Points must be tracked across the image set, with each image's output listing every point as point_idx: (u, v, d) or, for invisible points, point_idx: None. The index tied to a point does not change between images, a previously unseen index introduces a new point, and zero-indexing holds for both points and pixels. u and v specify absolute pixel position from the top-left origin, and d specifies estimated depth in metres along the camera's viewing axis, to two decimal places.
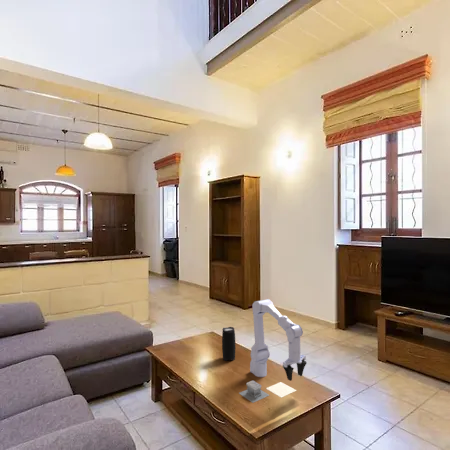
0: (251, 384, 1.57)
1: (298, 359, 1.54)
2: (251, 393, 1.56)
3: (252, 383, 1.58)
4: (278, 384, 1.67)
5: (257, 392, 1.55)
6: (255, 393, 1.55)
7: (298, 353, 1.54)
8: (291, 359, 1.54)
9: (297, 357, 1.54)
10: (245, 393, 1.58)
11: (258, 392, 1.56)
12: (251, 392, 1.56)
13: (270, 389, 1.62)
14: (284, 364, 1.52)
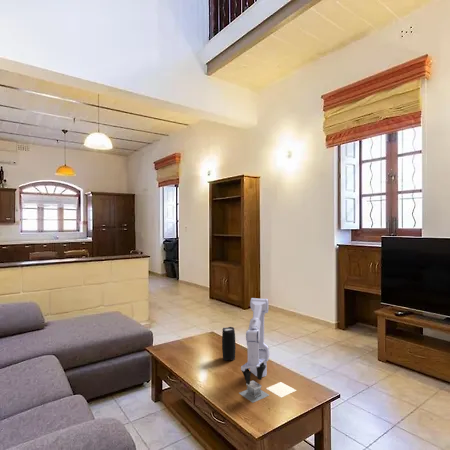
0: (251, 384, 1.57)
1: (256, 363, 1.55)
2: (251, 393, 1.56)
3: (252, 383, 1.58)
4: (278, 384, 1.67)
5: (257, 392, 1.55)
6: (255, 393, 1.55)
7: (256, 357, 1.55)
8: (249, 363, 1.56)
9: (255, 361, 1.55)
10: (245, 393, 1.58)
11: (258, 392, 1.56)
12: (251, 392, 1.56)
13: (270, 389, 1.62)
14: (242, 368, 1.53)
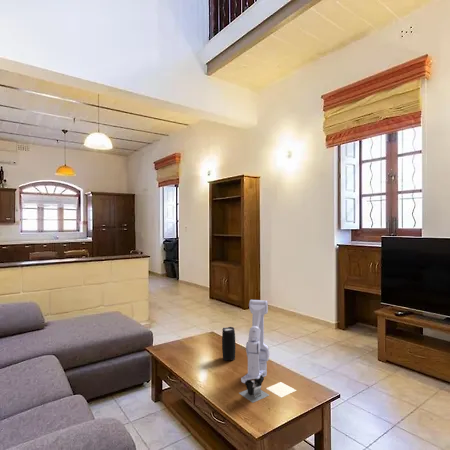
0: None
1: (256, 374, 1.55)
2: None
3: None
4: (278, 384, 1.67)
5: (257, 392, 1.55)
6: (255, 393, 1.55)
7: (256, 368, 1.55)
8: (249, 374, 1.56)
9: (255, 372, 1.55)
10: (245, 393, 1.58)
11: (258, 392, 1.56)
12: None
13: (270, 389, 1.62)
14: (242, 380, 1.53)
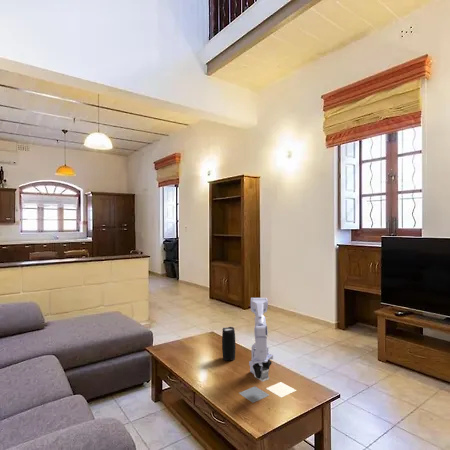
0: None
1: (264, 358, 1.56)
2: None
3: None
4: (278, 384, 1.67)
5: (265, 376, 1.57)
6: (263, 376, 1.56)
7: (264, 352, 1.56)
8: (257, 358, 1.57)
9: (263, 356, 1.56)
10: (245, 393, 1.58)
11: (266, 376, 1.57)
12: None
13: (270, 389, 1.62)
14: (250, 363, 1.55)
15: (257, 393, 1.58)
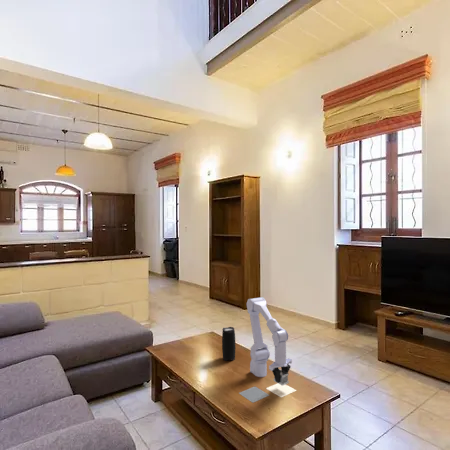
0: None
1: (284, 363, 1.59)
2: None
3: None
4: (278, 384, 1.67)
5: (284, 380, 1.59)
6: (283, 381, 1.59)
7: (284, 357, 1.59)
8: (277, 362, 1.60)
9: (283, 361, 1.59)
10: (245, 393, 1.58)
11: (285, 380, 1.60)
12: None
13: (270, 389, 1.62)
14: (270, 367, 1.57)
15: (257, 393, 1.58)
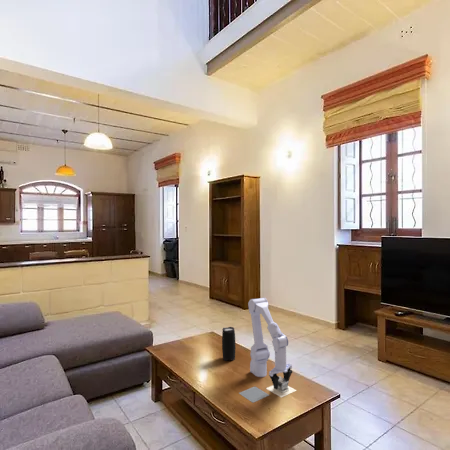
0: (278, 380, 1.61)
1: (284, 368, 1.59)
2: (279, 388, 1.60)
3: (279, 379, 1.62)
4: None
5: (284, 387, 1.59)
6: (283, 388, 1.59)
7: (284, 362, 1.59)
8: (277, 368, 1.60)
9: (283, 366, 1.59)
10: (245, 393, 1.58)
11: (285, 387, 1.60)
12: (279, 387, 1.60)
13: (270, 389, 1.62)
14: (270, 373, 1.57)
15: (257, 393, 1.58)
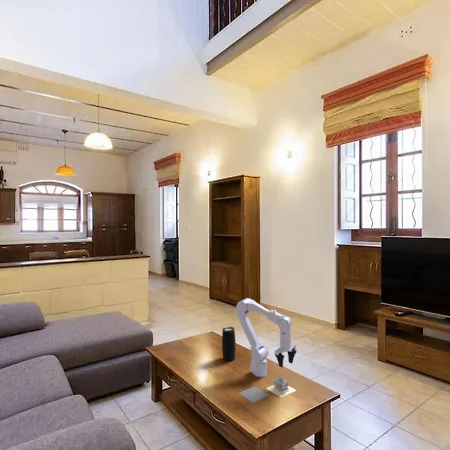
0: (278, 380, 1.61)
1: (288, 348, 1.68)
2: (279, 388, 1.60)
3: (279, 379, 1.62)
4: None
5: (284, 387, 1.59)
6: (283, 388, 1.59)
7: (288, 342, 1.69)
8: (282, 348, 1.69)
9: (287, 346, 1.68)
10: (245, 393, 1.58)
11: (285, 387, 1.60)
12: (279, 387, 1.60)
13: (270, 389, 1.62)
14: (276, 352, 1.67)
15: (257, 393, 1.58)
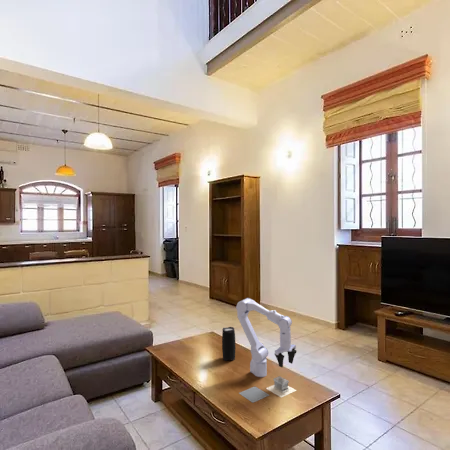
0: (278, 380, 1.61)
1: (288, 348, 1.68)
2: (279, 388, 1.60)
3: (279, 379, 1.62)
4: None
5: (284, 387, 1.59)
6: (283, 388, 1.59)
7: (288, 342, 1.69)
8: (282, 348, 1.69)
9: (287, 346, 1.68)
10: (245, 393, 1.58)
11: (285, 387, 1.60)
12: (279, 387, 1.60)
13: (270, 389, 1.62)
14: (276, 352, 1.67)
15: (257, 393, 1.58)
